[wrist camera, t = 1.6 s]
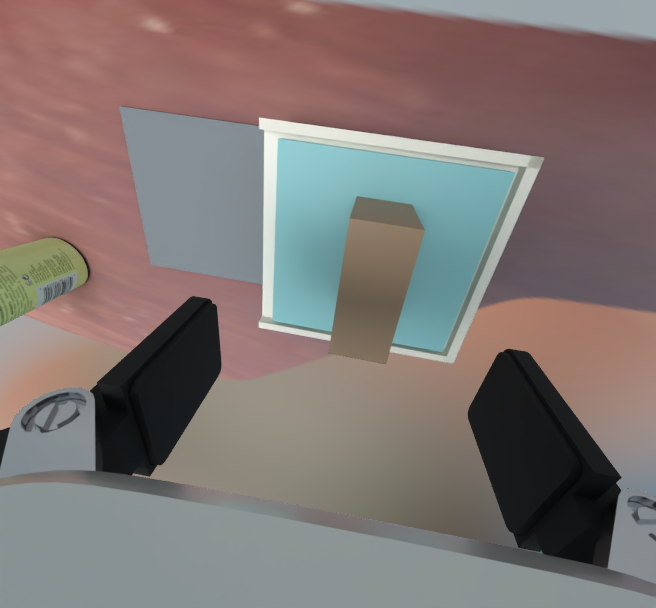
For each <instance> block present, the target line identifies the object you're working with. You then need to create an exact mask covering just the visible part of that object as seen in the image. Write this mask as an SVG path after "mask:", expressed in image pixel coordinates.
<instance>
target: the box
mask: <svg viewBox="0 0 656 608" xmlns="http://www.w3.org/2000/svg"><path fill="white" fill-rule="evenodd" d="M259 129H262V130H264V208H263V315H262V317H261V319H260V321H259V328H265V329H270V330H275V331H281V332H286V333H291V334H297V335H302V336H307V337H313V338H318V339H324V340H329V341H330V340H331V333H332V332H330V331H325V330H320V329H314V328H309V327H303V326H298V325H292V324H287V323H282V322H276V321H272V318H273V284H274V251H275V218H276V184H277V151H278V138H283V139H290V140H297V141H304V142H311V143H318V144H325V145H332V146H339V147H346V148H353V149H360V150H367V151H374V152H381V153H387V154H394V155H401V156H408V157H415V158H422V159H429V160H436V161H443V162H450V163H457V164H464V165H471V166H478V167H485V168H492V169H499V170H505V171H511V172H515V176H514V178H513V181H512V183H511V186H510V188H509V190H508V193H507V195H506V198H505V200H504V203H503V205H502V208H501V210H500V212H499V215H498V217H497V220H496V222H495V225H494V227H493V230H492V232H491V234H490V237H489V239H488V242H487V244H486V247H485V249H484V252H483V254H482V256H481V259H480V261H479V264H478V266H477V269H476V271H475V274H474V276H473V278H472V281H471V283H470V286H469V288H468V291H467V293H466V296H465V298H464V300H463V303H462V305H461V308H460V310H459V313H458V315H457V318H456V320H455V322H454V325H453V327H452V330H451V332H450V335H449V337H448V340H447V342H446V344H445V347H444V349H443V352H439V351H433V350H428V349H423V348H417V347H412V346H406V345H401V344H395V343H392V345H391V349H390V352H393V353H399V354H404V355H409V356H415V357H420V358H426V359H431V360H436V361H442V362H447V363H452V364H453V363H454V361H455V358H456V356H457V354H458V351H459V349H460V347H461V345H462V343H463V340H464V338H465V336H466V333H467V331H468V329H469V327H470V325H471V322H472V320H473V318H474V316H475V313H476V311H477V309H478V307H479V304H480V302H481V300H482V298H483V295H484V293H485V291H486V289H487V286H488V284H489V282H490V280H491V277H492V275H493V273H494V271H495V268H496V266H497V264H498V262H499V259H500V257H501V255H502V253H503V250H504V248H505V246H506V244H507V241H508V239H509V237H510V235H511V232H512V230H513V228H514V226H515V223H516V221H517V219H518V217H519V214H520V212H521V210H522V208H523V205H524V203H525V201H526V199H527V196H528V194H529V192H530V190H531V187H532V185H533V183H534V181H535V178H536V176H537V174H538V172H539V169H540V167H541V165H542V163H543V160H544V158H543V157H536V156H529V155H522V154H515V153H508V152H501V151H493V150H486V149H479V148H472V147H465V146H458V145H451V144H444V143H436V142H429V141H422V140H415V139H408V138H401V137H394V136H386V135H379V134H372V133H365V132H358V131H351V130H344V129H337V128H329V127H322V126H315V125H308V124H301V123H294V122H287V121H280V120H272V119H265V118H259Z"/></svg>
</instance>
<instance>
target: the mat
mask: <svg viewBox="0 0 656 608" xmlns="http://www.w3.org/2000/svg"><path fill="white" fill-rule="evenodd" d="M119 108H120V113H121V118H122V123H123V128H124V133H125V138H126V143H127V148H128V153H129V158H130V163H131V168H132V173H133V178H134V183H135V188H136V193H137V198H138V203H139V208H140V213H141V218H142V223H143V228H144V233H145V238H146V243H147V248H148V253H149V258H150V263H151V265H155V266H161V267H167V268H172V269H178V270H184V271H189V272H195V273H201V274H206V275H212V276H218V277H223V278H229V279H235V280H240V281H246V282H252V283H257V284H263V208H264V130H262V129H259V126H255V125H248V124H241V123H234V122H227V121H220V120H213V119H206V118H199V117H192V116H185V115H178V114H171V113H164V112H157V111H150V110H143V109H136V108H129V107H121V106H119Z"/></svg>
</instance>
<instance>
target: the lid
mask: <svg viewBox="0 0 656 608" xmlns="http://www.w3.org/2000/svg"><path fill="white" fill-rule="evenodd" d="M514 176H515V172H511V171H505V170H499V169H492V168H485V167H478V166H471V165H464V164H457V163H450V162H443V161H436V160H429V159H422V158H415V157H408V156H401V155H394V154H387V153H381V152H374V151H367V150H360V149H353V148H346V147H339V146H332V145H325V144H318V143H311V142H304V141H297V140H290V139H283V138H278V151H277V184H276V218H275V251H274V284H273V318H272V321H276V322H282V323H287V324H292V325H298V326H303V327H309V328H314V329H320V330H325V331H330V332H332V333H331V340H330V346H329V352H328V353H329V354H335V355H340V356H345V357H351V358H356V359H361V360H367V361H372V362H377V363H382V364H386V362H387V359H388V355H389V352H390V349H391V345H392V343H395V344H401V345H406V346H412V347H417V348H423V349H428V350H433V351H439V352H443V349H444V347H445V344H446V342H447V340H448V337H449V335H450V332H451V330H452V327H453V325H454V322H455V320H456V318H457V315H458V313H459V310H460V308H461V305H462V303H463V300H464V298H465V296H466V293H467V291H468V288H469V286H470V283H471V281H472V278H473V276H474V274H475V271H476V269H477V266H478V264H479V261H480V259H481V256H482V254H483V252H484V249H485V247H486V244H487V242H488V239H489V237H490V234H491V232H492V230H493V227H494V225H495V222H496V220H497V217H498V215H499V212H500V210H501V208H502V205H503V203H504V200H505V198H506V195H507V193H508V190H509V188H510V186H511V183H512V181H513V178H514Z"/></svg>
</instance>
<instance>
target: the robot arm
mask: <svg viewBox="0 0 656 608" xmlns="http://www.w3.org/2000/svg"><path fill="white" fill-rule="evenodd" d="M220 371H221V352H220V340H219V328H218V315H217V306H216V305H215V304H212V301H211V300H210V299H207V298H201V297H195V296H192V297H190V298H189V299H188V300H187V301H186V302H185V303H184V304H183V305H181V306H180V307H179V308H178V309H177V310H176V311H175V312H174V313H173V314H172V315H170V316H169V317H168V318H167V319H166V320H165V321H164V322H163V323H162V324H161V325H160V326H158V327H157V328H156V329H155V330H154V331H153V332H152V333H151V334H150V335H149V336H147V337H146V338H145V339H144V340H143V341H142V342H141V343H140V344H139V345H138V346H136V347H135V348H134V349H133V350H132V351H131V352H130V353H129V354H128V355H127V356H126V357H124V358H123V359H122V360H121V361H120V362H119V363H118V364H117V365H116V366H115V367H113V368H112V369H111V370H110V371H109V372H108V373H107V374H106V375H105V376H104V377H103V378H101V379H100V380H99V381H98V382H97V385H96V386H95V387H94V388H93V389H92V390H90V391H89V390H87V389H83V388H64V389H59V390H56V391H53V392H50V393H47V394H44V395H42V396H40V397H39V398H36V399H34V400H33V401H31V402H30V403H29V404H27V405H26V406H24V407H23V408H22V409H21V410H20V411H19V412H18V413H17V414H16V416H15V417H14V419H13V421H12V423H11V426H10V427H9V428H6V429H3V430H0V608H656V497H655V496H653V495H651V494H649V493H646V492H643V491H640V490H638V489H629V488H628V489H625V490H622V491H621V489H620V488H619V487H618V485H617V484H616V482H617V481H618V480H619V479H621V476H620V475H619V473H618V472H617V471H616V470H615V468H614V467H613V465H612V464H611V463H610V461H609V460H608V459H607V457H606V456H605V455H604V453H603V452H602V451H601V449H600V448H599V446H598V445H597V444H596V442H595V441H594V440H593V438H592V437H591V436H590V434H589V433H588V432H587V430H586V429H585V428H584V426H583V425H582V424H581V422H580V421H579V420H578V418H577V417H576V415H575V414H574V413H573V411H572V410H571V409H570V407H569V406H568V405H567V403H566V402H565V401H564V400H563V398H562V397H561V395H560V394H559V393H558V391H557V390H556V389H555V387H554V386H553V385H552V383H551V382H550V380H549V379H548V378H547V376H546V375H545V374H544V372H543V371H542V370H541V368H540V367H539V366H538V364H537V363H536V362H535V360H534V359H533V357H532V356H531V355H530V354H529V353H528V352H525V351H519V350H513V349H506V350H505V351H504V352H500V353H499V354H498V355H497V356H496V358H495V360H494V362H493V364H492V366H491V368H490V370H489V372H488V373H487V375H486V377H485V379H484V381H483V383H482V385H481V386H480V388H479V390H478V392H477V394H476V396H475V398H474V400H473V402H472V403H471V405H470V407H469V410H468V419H469V422H470V425H471V428H472V431H473V433H474V437H475V439H476V442H477V445H478V448H479V451H480V454H481V456H482V459H483V462H484V465H485V468H486V470H487V473H488V476H489V479H490V482H491V484H492V487H493V490H494V493H495V496H496V499H497V501H498V504H499V507H500V510H501V512H502V515H503V518H504V521H505V524H506V526H507V528H508V530H509V531H510V532H512V533H513V534H514V536H515V539H516V542H517V545H518V547H519V548H523V549H528V550H533V551H538V552H540V551H541V550H542V552H543V554H540V553H536V552H531V551H526V550H522V549H516V548H512V547H506V546H502V545H497V544H492V543H487V542H482V541H477V540H471V539H466V538H461V537H456V536H451V535H446V534H441V533H436V532H431V531H426V530H421V529H416V528H411V527H406V526H401V525H395V524H390V523H385V522H380V521H375V520H369V519H365V518H360V517H354V516H349V515H344V514H338V513H333V512H328V511H323V510H318V509H313V508H307V507H302V506H297V505H292V504H287V503H281V502H276V501H271V500H266V499H260V498H255V497H249V496H244V495H239V494H234V493H228V492H223V491H217V490H212V489H207V488H202V487H196V486H191V485H185V484H179V483H173V482H167V481H161V480H155V479H150V478H144V477H137V476H132V474H133V473H135V474H140V475H145V476H150V475H151V474H152V472H153V471H154V469H155V468H156V466H157V465H162V464H163V463H164V462H165V461H166V459H167V458H168V456H169V454H170V453H171V451H172V449H173V448H174V446H175V445H176V443H177V441H178V440H179V438H180V437H181V435H182V434H183V432H184V430H185V429H186V427H187V426H188V424H189V422H190V421H191V419H192V418H193V416H194V414H195V413H196V411H197V409H198V408H199V406H200V404H201V403H202V401H203V400H204V398H205V396H206V395H207V393H208V392H209V390H210V388H211V387H212V385H213V384H214V382H215V381H216V379H217V377H218V376H219V374H220Z"/></svg>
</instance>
